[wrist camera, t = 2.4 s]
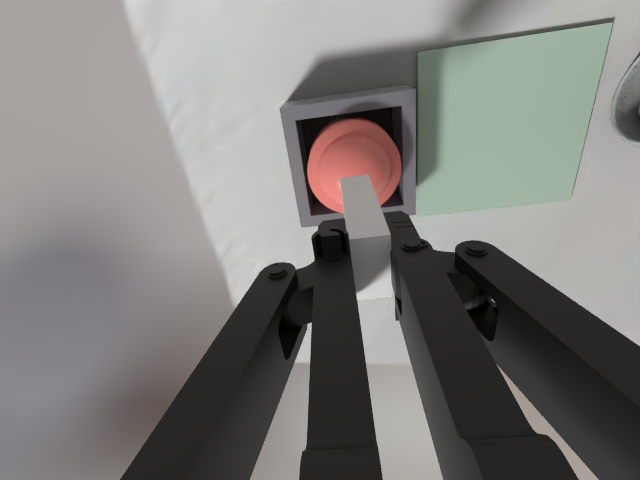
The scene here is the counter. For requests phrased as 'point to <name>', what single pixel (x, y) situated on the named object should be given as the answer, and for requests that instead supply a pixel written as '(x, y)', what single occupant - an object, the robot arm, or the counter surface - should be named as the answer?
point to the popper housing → (343, 103)
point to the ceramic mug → (628, 106)
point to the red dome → (352, 159)
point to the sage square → (505, 119)
